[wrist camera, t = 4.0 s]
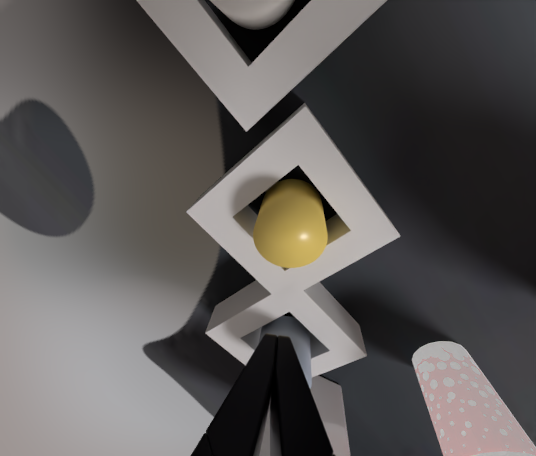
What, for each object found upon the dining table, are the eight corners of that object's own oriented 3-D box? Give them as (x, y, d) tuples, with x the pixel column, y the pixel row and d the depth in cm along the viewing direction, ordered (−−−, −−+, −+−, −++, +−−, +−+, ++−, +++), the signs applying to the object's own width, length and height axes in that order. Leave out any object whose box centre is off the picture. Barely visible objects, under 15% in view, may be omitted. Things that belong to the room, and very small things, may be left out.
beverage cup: (391, 349, 24) (486, 624, 12) (463, 325, 22) (670, 632, 10) (419, 386, 26) (524, 654, 14) (487, 367, 24) (685, 666, 12)
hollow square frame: (304, 102, 15) (305, 106, 13) (385, 214, 18) (400, 236, 15) (202, 194, 19) (186, 211, 16) (283, 276, 21) (280, 303, 19)
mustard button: (297, 166, 16) (296, 188, 13) (334, 212, 18) (342, 243, 14) (250, 203, 18) (237, 231, 14) (287, 243, 19) (284, 278, 16)
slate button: (288, 308, 20) (286, 355, 17) (320, 338, 21) (323, 387, 18) (250, 329, 22) (241, 375, 18) (281, 356, 23) (278, 404, 20)
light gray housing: (295, 255, 20) (294, 281, 18) (359, 324, 23) (367, 355, 20) (215, 305, 24) (205, 333, 21) (279, 360, 26) (277, 391, 24)
